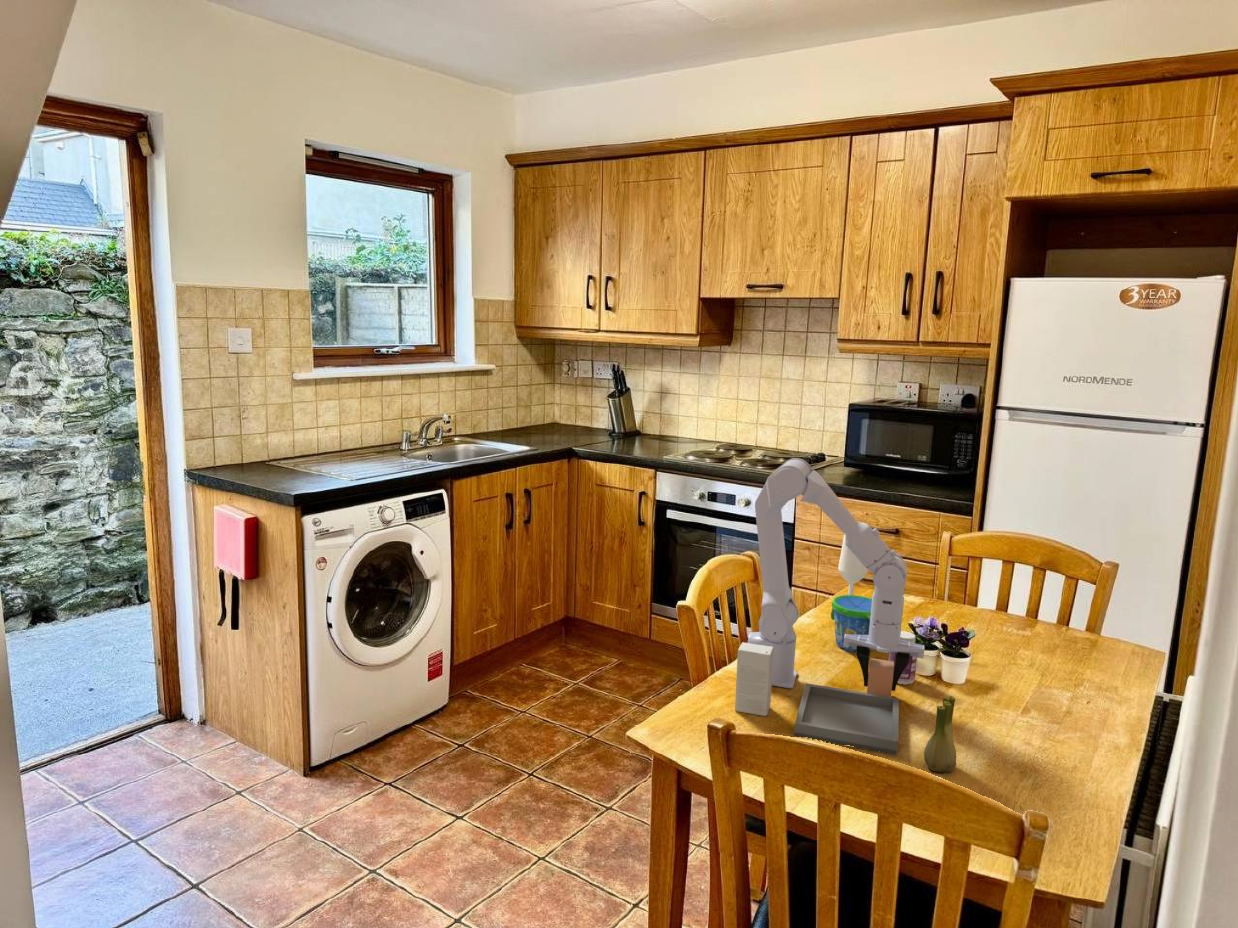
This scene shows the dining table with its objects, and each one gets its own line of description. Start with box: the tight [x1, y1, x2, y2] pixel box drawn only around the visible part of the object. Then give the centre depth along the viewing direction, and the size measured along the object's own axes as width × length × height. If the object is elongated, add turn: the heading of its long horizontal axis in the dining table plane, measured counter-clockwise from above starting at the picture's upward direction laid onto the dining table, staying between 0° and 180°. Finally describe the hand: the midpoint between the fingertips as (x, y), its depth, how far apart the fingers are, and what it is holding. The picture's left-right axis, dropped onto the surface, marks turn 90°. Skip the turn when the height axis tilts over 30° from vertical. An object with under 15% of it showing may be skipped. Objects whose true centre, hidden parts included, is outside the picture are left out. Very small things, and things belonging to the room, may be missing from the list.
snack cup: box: [830, 594, 872, 653], centre depth 187 cm, size 16×10×10 cm
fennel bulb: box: [923, 695, 957, 773], centre depth 139 cm, size 6×5×12 cm
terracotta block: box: [866, 657, 894, 697], centre depth 163 cm, size 4×4×6 cm
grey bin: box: [793, 682, 900, 756], centre depth 153 cm, size 17×17×2 cm
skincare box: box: [734, 641, 774, 717], centre depth 157 cm, size 6×4×12 cm
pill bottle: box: [888, 630, 918, 686], centre depth 171 cm, size 5×5×10 cm
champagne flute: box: [833, 521, 869, 623], centre depth 201 cm, size 7×7×24 cm
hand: (879, 686), depth 164 cm, fingers closed on terracotta block, 4 cm apart
